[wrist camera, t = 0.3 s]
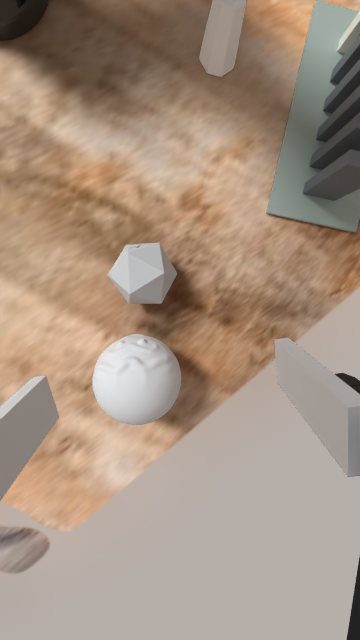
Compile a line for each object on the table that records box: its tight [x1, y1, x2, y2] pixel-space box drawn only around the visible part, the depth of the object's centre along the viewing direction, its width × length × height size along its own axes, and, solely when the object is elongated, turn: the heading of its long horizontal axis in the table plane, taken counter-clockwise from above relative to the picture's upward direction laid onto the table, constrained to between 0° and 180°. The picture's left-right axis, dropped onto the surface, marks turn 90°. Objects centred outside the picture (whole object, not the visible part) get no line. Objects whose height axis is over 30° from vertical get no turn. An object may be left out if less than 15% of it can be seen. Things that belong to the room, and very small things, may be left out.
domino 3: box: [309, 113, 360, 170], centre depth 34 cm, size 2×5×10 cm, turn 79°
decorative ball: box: [93, 334, 181, 425], centre depth 37 cm, size 12×12×12 cm
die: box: [108, 243, 177, 304], centre depth 37 cm, size 8×9×10 cm
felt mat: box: [266, 0, 360, 233], centre depth 39 cm, size 28×14×1 cm, turn 169°
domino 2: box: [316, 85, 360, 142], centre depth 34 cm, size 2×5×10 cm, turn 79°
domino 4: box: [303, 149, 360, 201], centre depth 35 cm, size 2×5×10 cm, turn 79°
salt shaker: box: [199, 0, 247, 77], centre depth 32 cm, size 5×5×11 cm
